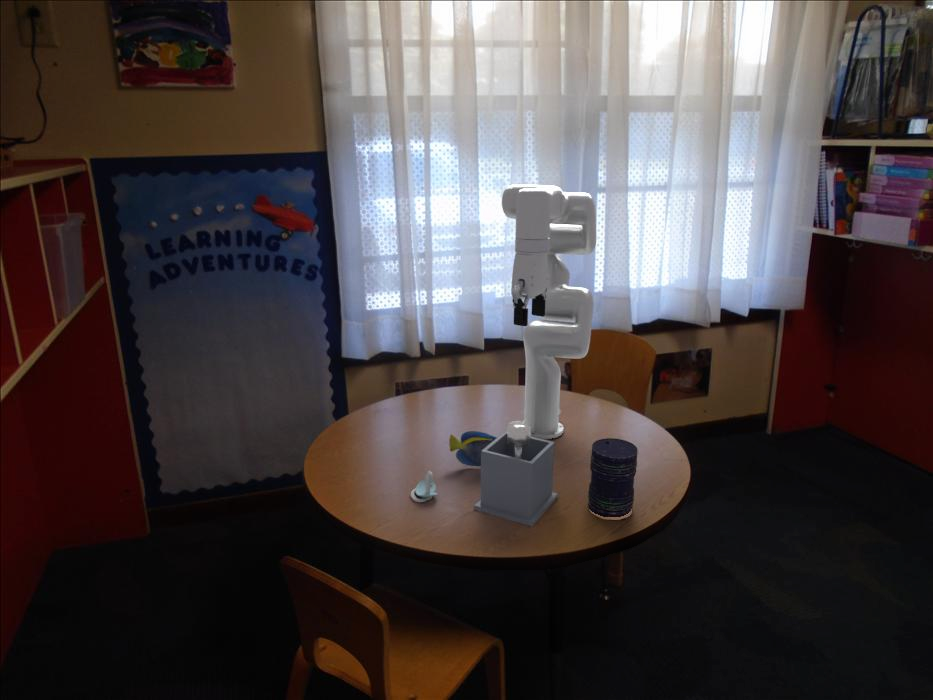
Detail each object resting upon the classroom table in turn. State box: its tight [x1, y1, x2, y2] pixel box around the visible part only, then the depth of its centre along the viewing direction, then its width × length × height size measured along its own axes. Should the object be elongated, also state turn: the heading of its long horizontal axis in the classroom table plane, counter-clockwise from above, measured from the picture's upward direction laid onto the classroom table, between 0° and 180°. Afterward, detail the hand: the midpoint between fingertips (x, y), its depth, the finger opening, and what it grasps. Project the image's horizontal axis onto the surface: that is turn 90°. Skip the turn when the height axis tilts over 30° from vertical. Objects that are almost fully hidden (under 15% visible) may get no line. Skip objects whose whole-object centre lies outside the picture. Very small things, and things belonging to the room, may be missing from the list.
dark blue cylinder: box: [587, 437, 639, 517], centre depth 150 cm, size 10×10×15 cm
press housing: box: [473, 430, 559, 528], centre depth 152 cm, size 14×14×14 cm
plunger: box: [506, 420, 531, 459], centre depth 151 cm, size 9×9×16 cm
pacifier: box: [410, 470, 438, 503], centre depth 156 cm, size 7×6×6 cm
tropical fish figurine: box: [448, 430, 498, 467], centre depth 169 cm, size 16×3×10 cm, turn 86°
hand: (529, 320), depth 157 cm, fingers open, 9 cm apart
